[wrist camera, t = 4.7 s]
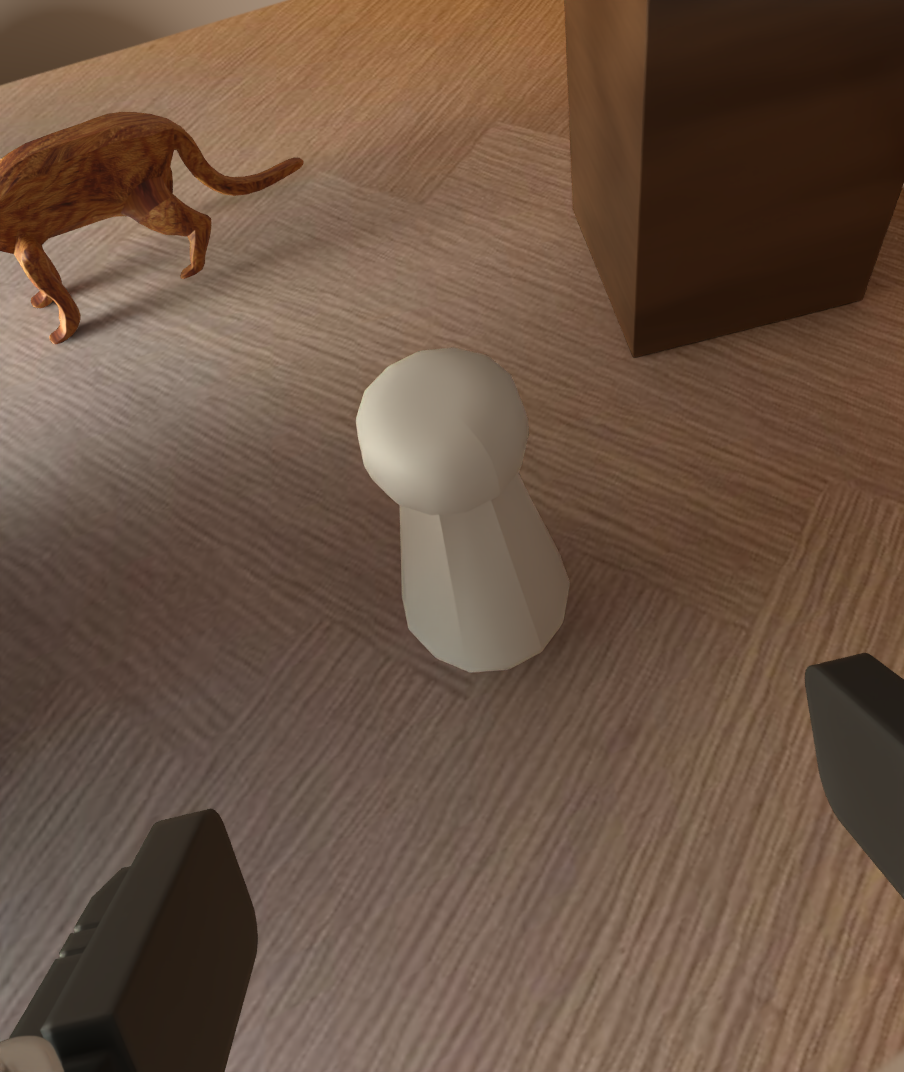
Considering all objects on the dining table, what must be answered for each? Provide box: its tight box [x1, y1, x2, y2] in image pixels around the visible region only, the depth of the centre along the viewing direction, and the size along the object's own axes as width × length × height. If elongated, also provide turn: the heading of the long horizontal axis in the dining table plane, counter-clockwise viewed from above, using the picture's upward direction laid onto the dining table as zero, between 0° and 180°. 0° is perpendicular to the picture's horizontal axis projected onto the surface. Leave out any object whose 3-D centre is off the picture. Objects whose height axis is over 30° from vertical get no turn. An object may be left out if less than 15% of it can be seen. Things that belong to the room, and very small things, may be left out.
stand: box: [564, 0, 904, 357], centre depth 30 cm, size 10×10×21 cm
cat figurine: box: [0, 112, 303, 344], centre depth 39 cm, size 18×7×14 cm, turn 122°
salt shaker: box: [356, 347, 570, 673], centre depth 26 cm, size 6×6×13 cm
